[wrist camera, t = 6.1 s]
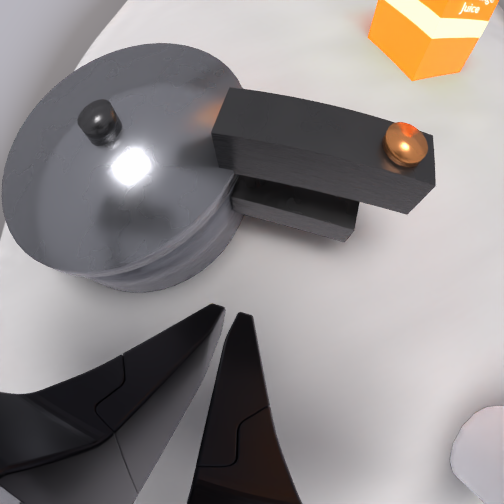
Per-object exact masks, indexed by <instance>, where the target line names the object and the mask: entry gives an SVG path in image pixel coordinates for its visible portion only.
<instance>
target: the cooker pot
mask: <svg viewBox="0 0 504 504" xmlns="http://www.w3.org/2000/svg"><path fill="white" fill-rule="evenodd" d="M358 207H359V201H355V200H351V199H347V198H343V197H339V196H335V195H331V194H327V193H323V192H319V191H314V190H310V189H306V188H301V187H297V186H292V185H288V184H283V183H278V182H273V181H269V180H264V179H259V178H254V177H249V176H243V175H239V177H238V179H237V181H236V183H235V184H234V186H233V188H232V190H231V192H230V194H229V195H228V197H227V198H226V199H225V201H224V202H223V204H222V205H221V206H220V208H219V209H218V210H217V212H216V213H215V214H214V215H213V216H212V217H211V218H210V219H209V221H208V222H207V223H206V224H205V225H204V226H203V227H202V228H201V229H200V230H199V231H197V232H196V233H195V234H194V235H193V236H192V237H191V238H189V239H188V240H187V241H186V242H185V243H183V244H182V245H180V246H179V247H177V248H176V249H174V250H173V251H171V252H170V253H169V254H167V255H165V256H163V257H161V258H159V259H158V260H156V261H154V262H152V263H150V264H148V265H145V266H143V267H140V268H137V269H135V270H132V271H129V272H125V273H121V274H116V275H112V276H103V277H86V278H89V279H91V280H93V281H96V282H98V283H100V284H103V285H105V286H107V287H110V288H113V289H117V290H120V291H127V292H150V291H157V290H161V289H165V288H168V287H172V286H174V285H177V284H179V283H181V282H183V281H186V280H188V279H189V278H191V277H193V276H194V275H196V274H197V273H199V272H200V271H202V270H203V269H204V268H205V267H207V266H208V265H209V264H210V263H212V262H213V261H214V260H215V259H216V258H217V257H218V256H219V255H220V253H221V252H222V251H223V250H224V249H225V247H226V246H227V245H228V243H229V242H230V241H231V239H232V237H233V236H234V234H235V232H236V231H237V229H238V227H239V224H240V222H241V220H242V217H243V215H248V216H252V217H256V218H259V219H263V220H267V221H271V222H274V223H278V224H282V225H285V226H289V227H292V228H296V229H300V230H303V231H307V232H310V233H314V234H318V235H321V236H325V237H328V238H332V239H335V240H338V241H342V242H345V241H346V240H347V239H348V238H349V236H350V235H351V234H352V232H353V231H354V228H355V223H356V218H357V212H358Z"/></svg>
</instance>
